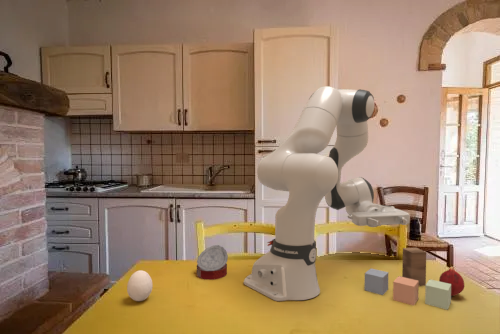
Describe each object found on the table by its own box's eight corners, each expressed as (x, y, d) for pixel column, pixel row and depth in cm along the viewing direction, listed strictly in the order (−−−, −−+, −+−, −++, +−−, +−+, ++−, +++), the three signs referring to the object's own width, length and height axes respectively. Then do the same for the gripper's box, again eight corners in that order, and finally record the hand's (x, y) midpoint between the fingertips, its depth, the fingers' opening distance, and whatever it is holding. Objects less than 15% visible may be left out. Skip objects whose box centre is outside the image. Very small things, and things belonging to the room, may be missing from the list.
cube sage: (425, 304, 81) (425, 285, 81) (429, 297, 85) (429, 279, 85) (447, 310, 78) (448, 290, 78) (450, 302, 82) (451, 284, 81)
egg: (138, 308, 79) (137, 277, 79) (122, 302, 82) (121, 272, 82) (157, 298, 84) (157, 269, 84) (141, 292, 88) (141, 265, 87)
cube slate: (364, 290, 89) (364, 273, 89) (370, 284, 93) (370, 268, 93) (382, 295, 86) (382, 277, 86) (388, 289, 90) (388, 272, 90)
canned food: (227, 286, 103) (239, 263, 100) (202, 292, 96) (213, 267, 93) (211, 262, 111) (221, 240, 107) (186, 266, 104) (196, 242, 101)
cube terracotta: (393, 300, 83) (393, 281, 83) (398, 293, 87) (398, 276, 87) (413, 305, 80) (414, 286, 80) (418, 298, 84) (418, 280, 84)
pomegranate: (468, 301, 82) (469, 271, 82) (444, 299, 83) (444, 270, 83) (458, 292, 88) (458, 264, 87) (435, 290, 89) (436, 262, 89)
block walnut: (402, 280, 96) (402, 248, 96) (415, 279, 97) (416, 247, 96) (411, 286, 92) (412, 252, 91) (425, 285, 92) (426, 252, 92)
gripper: (345, 207, 118) (362, 215, 104) (396, 205, 121) (419, 212, 107) (345, 224, 118) (362, 233, 105) (396, 222, 121) (419, 230, 107)
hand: (392, 223), depth 106 cm, fingers open, 8 cm apart
